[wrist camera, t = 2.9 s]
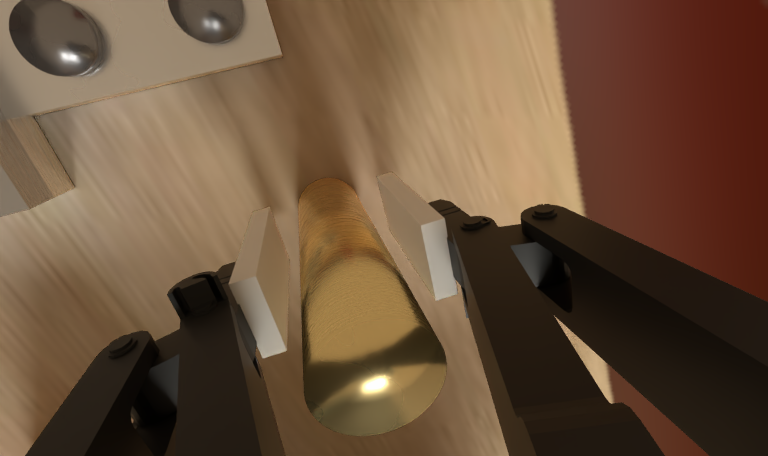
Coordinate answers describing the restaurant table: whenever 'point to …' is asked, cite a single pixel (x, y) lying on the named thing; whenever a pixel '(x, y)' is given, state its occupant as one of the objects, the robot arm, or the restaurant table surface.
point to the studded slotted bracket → (105, 67)
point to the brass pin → (359, 321)
